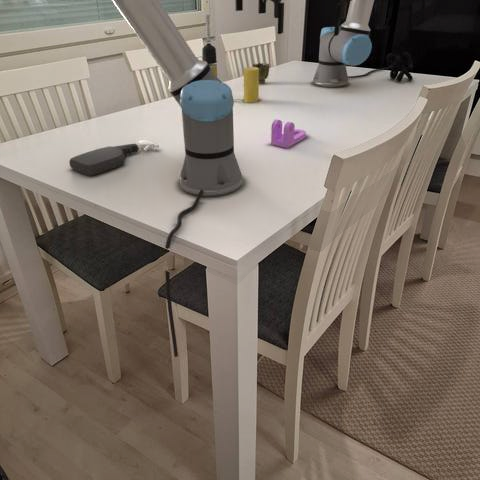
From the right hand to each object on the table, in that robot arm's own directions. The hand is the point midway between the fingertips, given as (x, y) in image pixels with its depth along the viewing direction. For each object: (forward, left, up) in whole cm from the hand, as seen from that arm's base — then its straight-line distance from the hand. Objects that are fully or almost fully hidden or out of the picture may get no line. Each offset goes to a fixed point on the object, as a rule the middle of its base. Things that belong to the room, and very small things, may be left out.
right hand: (250, 12), depth 159 cm
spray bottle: (+71, -8, -31) cm, 78 cm away
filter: (+4, -16, -31) cm, 35 cm away
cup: (-28, -8, -31) cm, 43 cm away
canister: (0, 0, -31) cm, 31 cm away
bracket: (+37, +31, -31) cm, 57 cm away
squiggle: (-57, +48, -31) cm, 80 cm away
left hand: (+49, +38, 0) cm, 62 cm away
